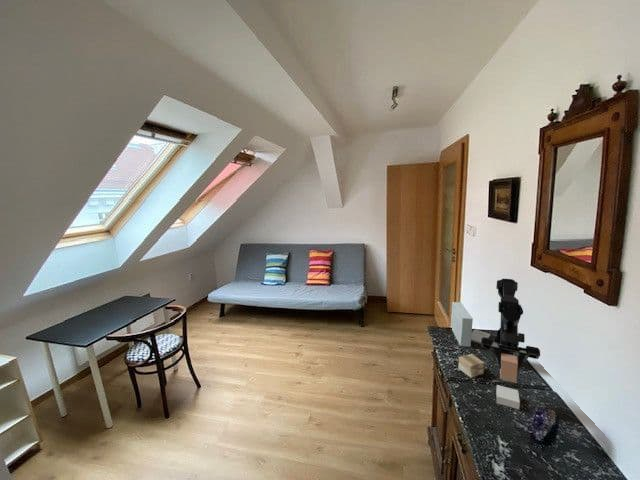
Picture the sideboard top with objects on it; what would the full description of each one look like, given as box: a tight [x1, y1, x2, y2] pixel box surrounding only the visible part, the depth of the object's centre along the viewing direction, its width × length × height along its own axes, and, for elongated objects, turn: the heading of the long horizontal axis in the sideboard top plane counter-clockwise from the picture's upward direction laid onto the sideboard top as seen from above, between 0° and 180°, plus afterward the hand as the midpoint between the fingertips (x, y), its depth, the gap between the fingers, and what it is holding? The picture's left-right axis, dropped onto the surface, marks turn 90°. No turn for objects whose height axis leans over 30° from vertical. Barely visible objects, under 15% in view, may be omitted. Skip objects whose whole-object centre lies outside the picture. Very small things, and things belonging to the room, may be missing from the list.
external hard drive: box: [471, 329, 491, 345], centre depth 152 cm, size 2×8×12 cm
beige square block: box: [458, 353, 485, 372], centre depth 125 cm, size 7×7×3 cm
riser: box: [495, 384, 521, 410], centre depth 108 cm, size 7×7×3 cm
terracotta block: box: [499, 353, 518, 384], centre depth 106 cm, size 5×5×8 cm
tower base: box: [457, 362, 485, 378], centre depth 126 cm, size 7×7×3 cm
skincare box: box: [450, 301, 473, 348], centre depth 153 cm, size 21×5×16 cm, turn 168°
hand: (508, 370), depth 105 cm, fingers closed on terracotta block, 5 cm apart
